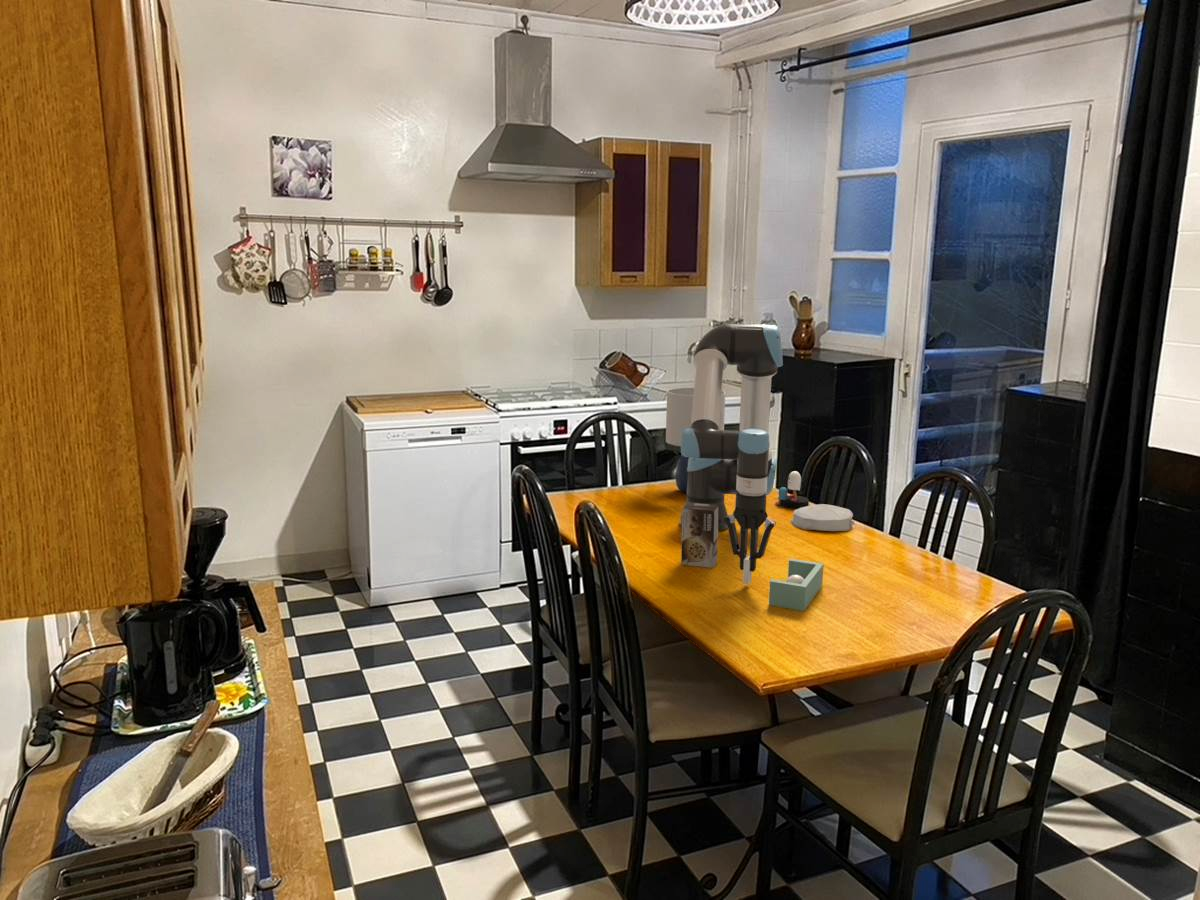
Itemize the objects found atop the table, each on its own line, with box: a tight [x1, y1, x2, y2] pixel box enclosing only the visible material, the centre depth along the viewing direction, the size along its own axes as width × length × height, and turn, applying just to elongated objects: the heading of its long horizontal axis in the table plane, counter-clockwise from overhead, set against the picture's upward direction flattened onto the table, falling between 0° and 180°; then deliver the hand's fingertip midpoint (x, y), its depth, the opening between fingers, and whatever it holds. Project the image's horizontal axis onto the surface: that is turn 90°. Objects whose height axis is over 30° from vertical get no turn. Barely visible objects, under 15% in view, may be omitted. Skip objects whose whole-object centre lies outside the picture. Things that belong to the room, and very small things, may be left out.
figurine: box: [774, 470, 810, 510], centre depth 305 cm, size 10×11×12 cm
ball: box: [785, 575, 804, 584], centre depth 222 cm, size 5×5×5 cm
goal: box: [768, 558, 824, 612], centre depth 222 cm, size 8×19×6 cm, turn 154°
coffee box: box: [680, 502, 719, 569], centre depth 244 cm, size 9×6×16 cm
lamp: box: [665, 387, 726, 494], centre depth 319 cm, size 20×20×37 cm
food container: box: [790, 503, 855, 532], centre depth 284 cm, size 20×20×7 cm
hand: (747, 582), depth 228 cm, fingers closed
